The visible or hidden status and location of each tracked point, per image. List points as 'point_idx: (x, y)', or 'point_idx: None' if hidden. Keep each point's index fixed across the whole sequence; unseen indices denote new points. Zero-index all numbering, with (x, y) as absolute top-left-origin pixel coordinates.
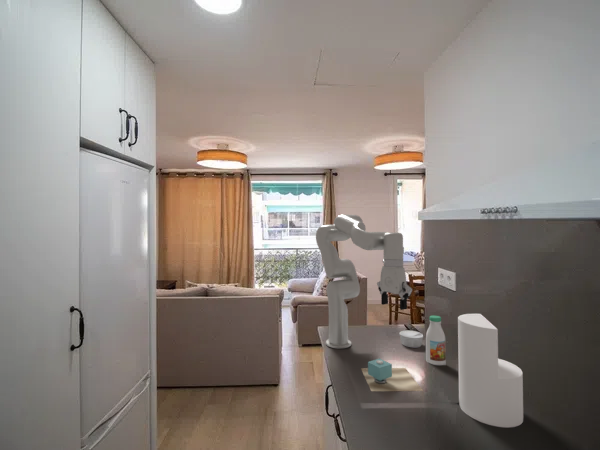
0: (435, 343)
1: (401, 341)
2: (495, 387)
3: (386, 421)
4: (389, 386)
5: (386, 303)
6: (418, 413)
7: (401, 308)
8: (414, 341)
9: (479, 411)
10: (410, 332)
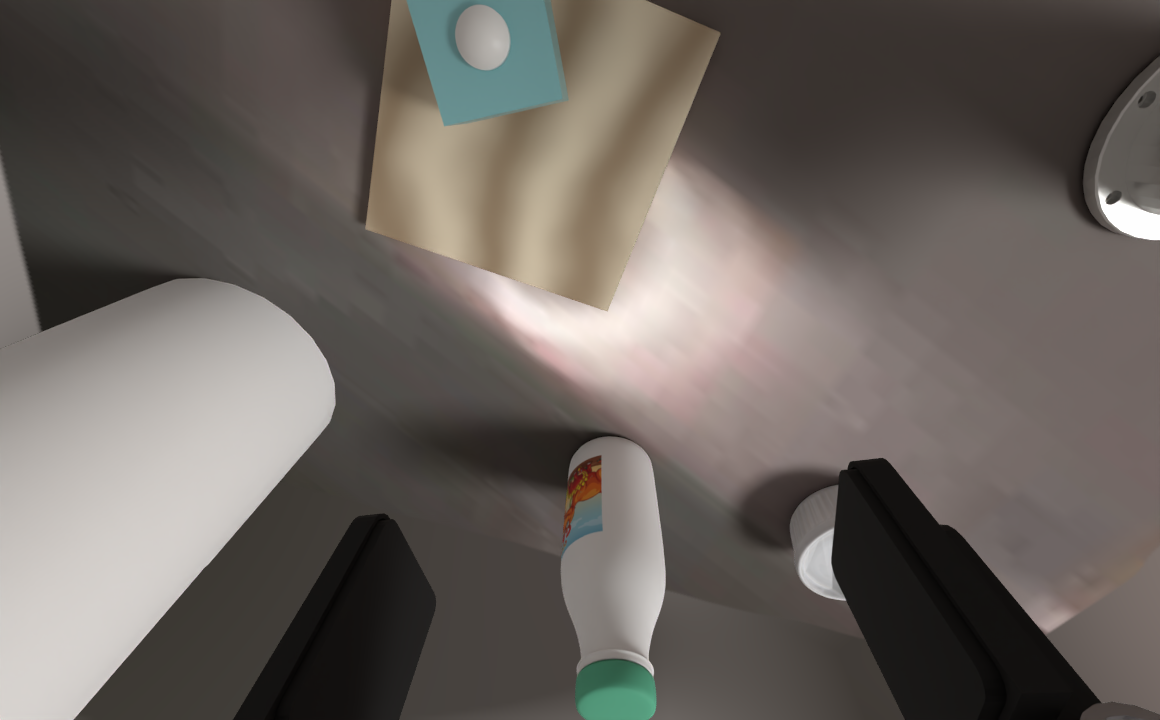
0: (575, 531)
1: None
2: None
3: None
4: None
5: (837, 546)
6: (205, 72)
7: (353, 535)
8: (805, 527)
9: (125, 298)
10: None
